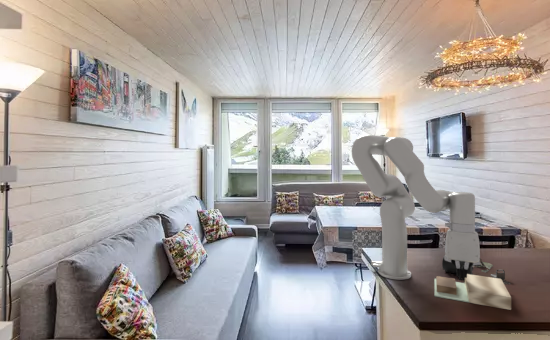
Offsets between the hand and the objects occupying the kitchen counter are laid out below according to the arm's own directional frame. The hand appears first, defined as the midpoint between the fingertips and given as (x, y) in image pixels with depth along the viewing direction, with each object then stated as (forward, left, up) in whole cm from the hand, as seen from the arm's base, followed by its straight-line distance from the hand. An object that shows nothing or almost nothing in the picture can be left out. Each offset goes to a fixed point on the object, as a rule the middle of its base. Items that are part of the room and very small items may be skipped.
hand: (461, 278), depth 105 cm
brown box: (-5, 0, -2) cm, 5 cm away
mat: (-3, 0, -5) cm, 6 cm away
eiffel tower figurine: (+8, +34, -6) cm, 35 cm away
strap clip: (+14, +19, -5) cm, 24 cm away
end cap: (0, +19, -5) cm, 20 cm away
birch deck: (+7, 0, -5) cm, 8 cm away
